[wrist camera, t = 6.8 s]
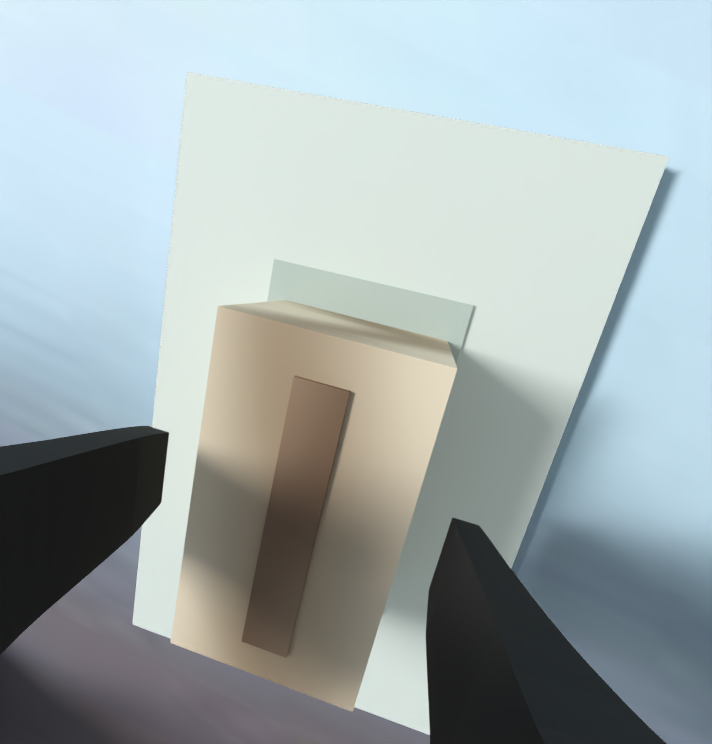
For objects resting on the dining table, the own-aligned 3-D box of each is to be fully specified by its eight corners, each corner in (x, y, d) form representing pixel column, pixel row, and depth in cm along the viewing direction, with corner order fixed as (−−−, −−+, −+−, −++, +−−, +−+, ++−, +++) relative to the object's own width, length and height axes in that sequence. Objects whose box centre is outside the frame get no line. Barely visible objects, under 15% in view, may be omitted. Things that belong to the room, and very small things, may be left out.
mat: (445, 726, 15) (445, 743, 14) (140, 614, 17) (130, 626, 16) (657, 162, 10) (672, 155, 9) (196, 81, 12) (184, 70, 11)
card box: (447, 341, 11) (457, 369, 7) (374, 591, 14) (351, 716, 10) (285, 299, 12) (215, 305, 8) (240, 545, 14) (168, 646, 10)
